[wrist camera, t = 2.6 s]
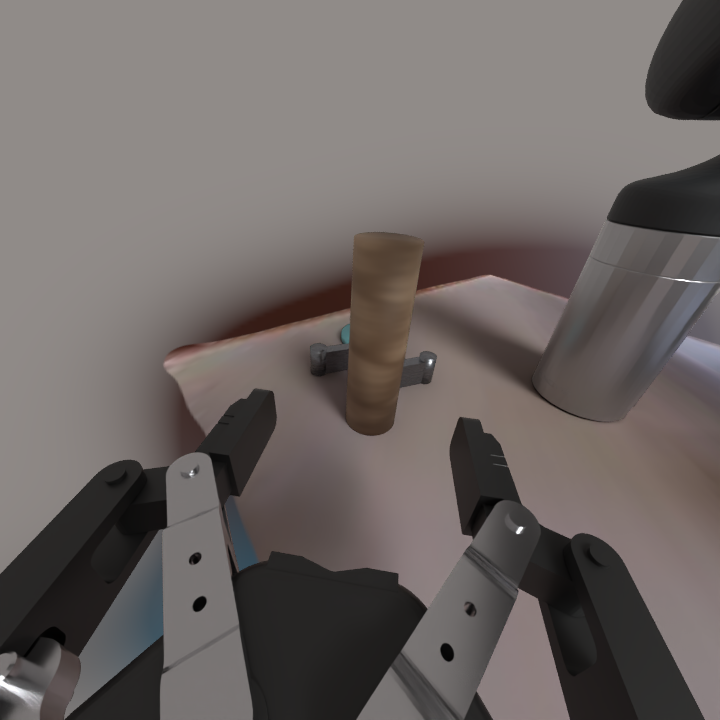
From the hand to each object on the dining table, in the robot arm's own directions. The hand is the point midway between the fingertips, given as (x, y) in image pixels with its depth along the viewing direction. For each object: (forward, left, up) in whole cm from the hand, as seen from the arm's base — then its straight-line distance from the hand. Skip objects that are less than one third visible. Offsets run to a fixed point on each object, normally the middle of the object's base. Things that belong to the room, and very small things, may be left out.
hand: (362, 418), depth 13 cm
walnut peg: (-4, -11, -11) cm, 15 cm away
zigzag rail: (-6, -17, -11) cm, 21 cm away
